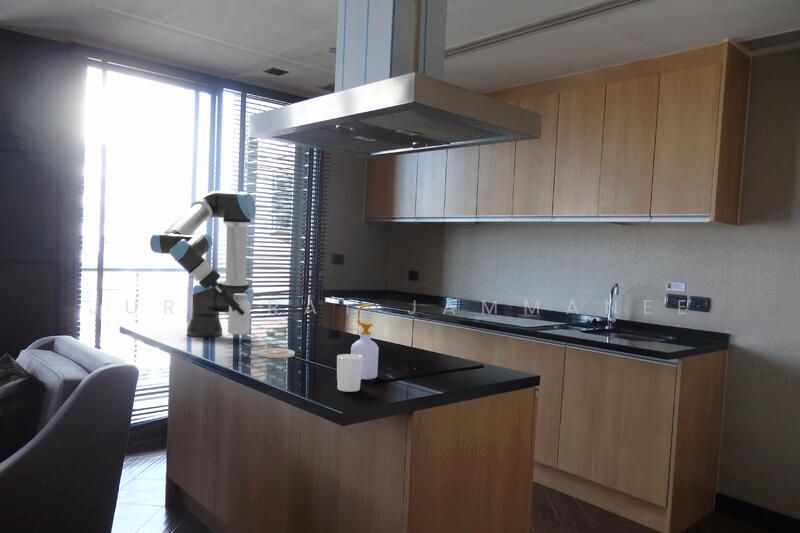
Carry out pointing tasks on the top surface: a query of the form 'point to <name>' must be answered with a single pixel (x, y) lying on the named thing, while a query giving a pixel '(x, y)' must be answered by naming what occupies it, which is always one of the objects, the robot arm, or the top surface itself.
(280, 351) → the coaster
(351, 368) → the white cup
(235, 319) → the pill bottle
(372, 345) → the soap bottle
